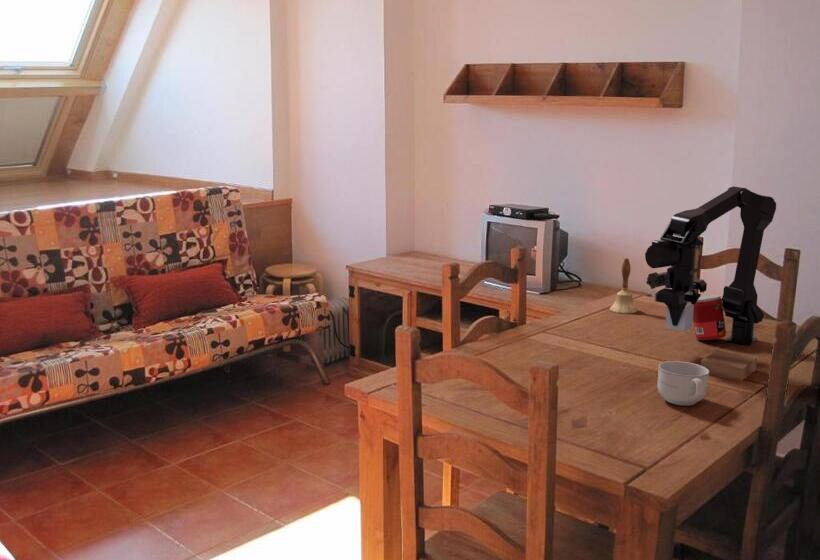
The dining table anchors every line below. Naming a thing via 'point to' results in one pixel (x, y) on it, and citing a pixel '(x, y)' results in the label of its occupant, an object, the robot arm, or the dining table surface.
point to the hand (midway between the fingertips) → (679, 323)
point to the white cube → (682, 318)
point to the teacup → (682, 382)
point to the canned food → (709, 318)
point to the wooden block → (729, 365)
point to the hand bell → (624, 293)
